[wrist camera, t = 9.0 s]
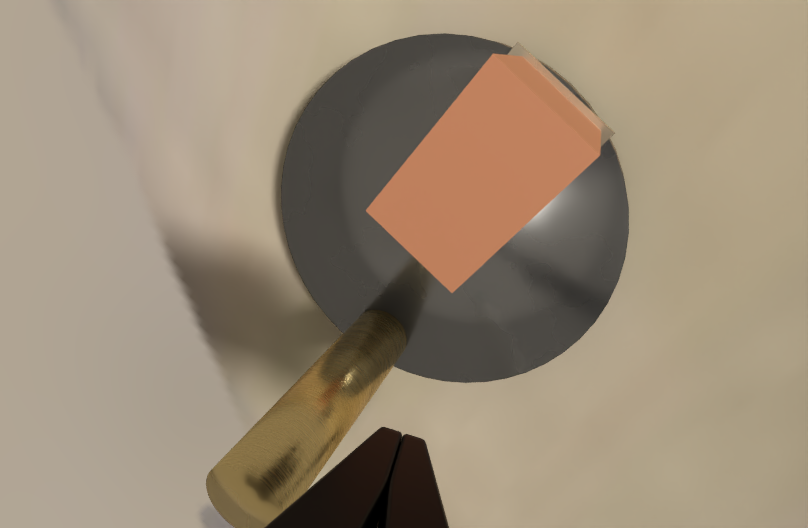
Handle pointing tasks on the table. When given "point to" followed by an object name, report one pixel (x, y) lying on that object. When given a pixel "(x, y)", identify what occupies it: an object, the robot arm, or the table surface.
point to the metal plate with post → (413, 265)
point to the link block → (486, 169)
